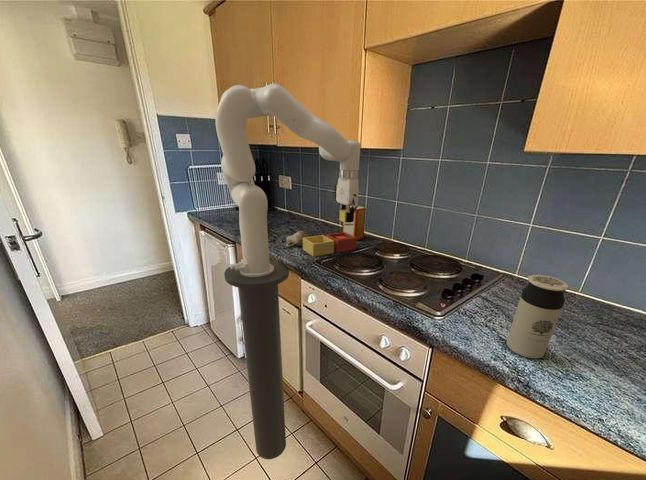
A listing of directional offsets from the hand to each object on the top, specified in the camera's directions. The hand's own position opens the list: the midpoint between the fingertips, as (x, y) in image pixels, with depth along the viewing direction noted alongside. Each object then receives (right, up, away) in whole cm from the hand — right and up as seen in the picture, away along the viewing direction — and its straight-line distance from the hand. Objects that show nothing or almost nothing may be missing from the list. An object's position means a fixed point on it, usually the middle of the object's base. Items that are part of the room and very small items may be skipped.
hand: (346, 220), depth 125 cm
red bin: (-2, -10, +14) cm, 17 cm away
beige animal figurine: (-23, -9, +15) cm, 29 cm away
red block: (-2, -10, +14) cm, 17 cm away
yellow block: (0, 0, 0) cm, 0 cm away
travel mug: (+41, -41, -53) cm, 78 cm away
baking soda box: (+4, -4, +29) cm, 30 cm away
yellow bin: (-12, -12, +8) cm, 19 cm away
